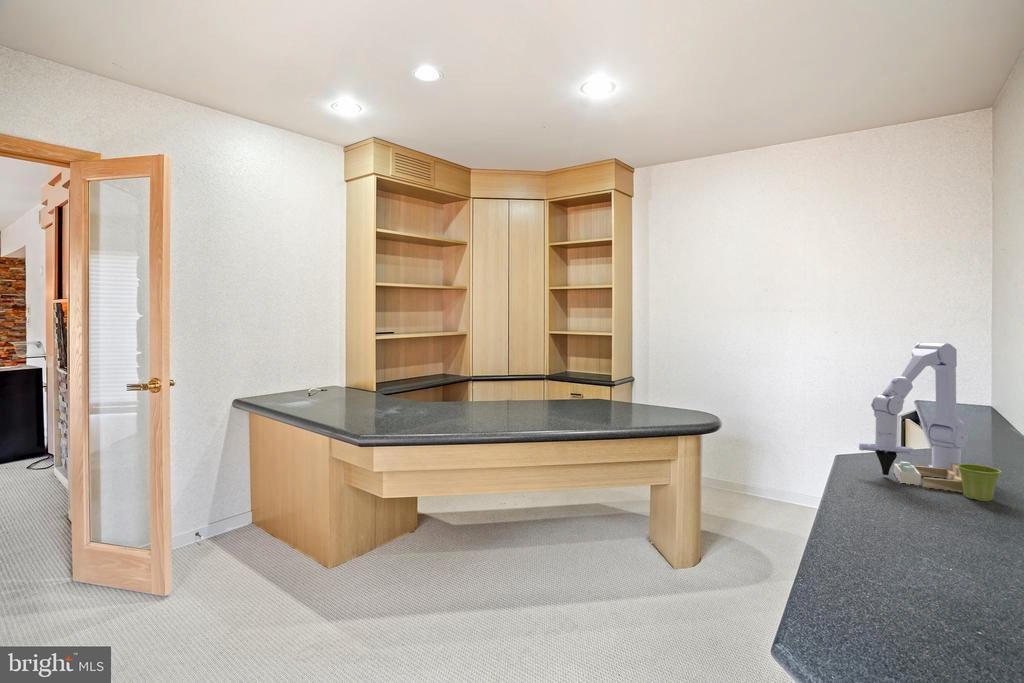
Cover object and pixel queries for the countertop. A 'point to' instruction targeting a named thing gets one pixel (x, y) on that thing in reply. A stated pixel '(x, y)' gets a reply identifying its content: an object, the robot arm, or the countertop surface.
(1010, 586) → the countertop surface
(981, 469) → the plant pot
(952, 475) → the light wooden angled piece
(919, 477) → the white box
